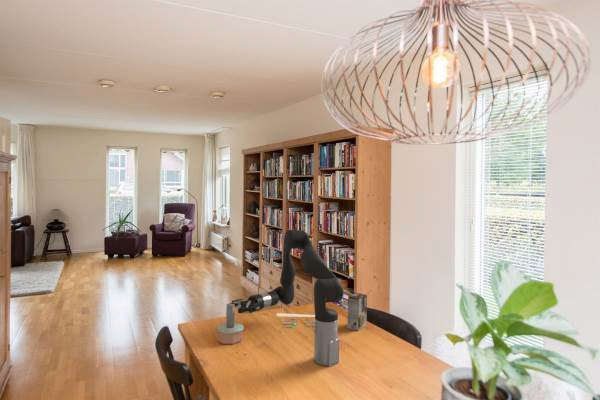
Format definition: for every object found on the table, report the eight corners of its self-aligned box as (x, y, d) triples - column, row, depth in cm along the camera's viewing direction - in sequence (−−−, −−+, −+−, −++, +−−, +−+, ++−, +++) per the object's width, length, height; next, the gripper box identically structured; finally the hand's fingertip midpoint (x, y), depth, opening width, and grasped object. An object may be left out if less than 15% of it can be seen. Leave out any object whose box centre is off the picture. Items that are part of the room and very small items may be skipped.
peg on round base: (249, 329, 181) (249, 305, 180) (227, 336, 172) (227, 310, 171) (232, 322, 189) (232, 299, 188) (211, 328, 180) (211, 304, 179)
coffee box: (355, 323, 205) (356, 292, 205) (366, 326, 202) (367, 294, 201) (346, 328, 198) (347, 296, 197) (358, 331, 194) (359, 298, 194)
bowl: (246, 340, 180) (246, 329, 180) (227, 346, 173) (227, 335, 173) (232, 333, 188) (232, 323, 187) (213, 339, 180) (213, 328, 180)
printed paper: (331, 316, 216) (331, 313, 216) (330, 338, 186) (330, 335, 186) (277, 313, 219) (277, 311, 219) (267, 335, 189) (267, 332, 189)
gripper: (250, 291, 197) (223, 297, 185) (269, 297, 187) (242, 304, 176) (250, 306, 197) (223, 313, 186) (269, 312, 188) (242, 320, 176)
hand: (232, 308), depth 181 cm, fingers open, 8 cm apart
